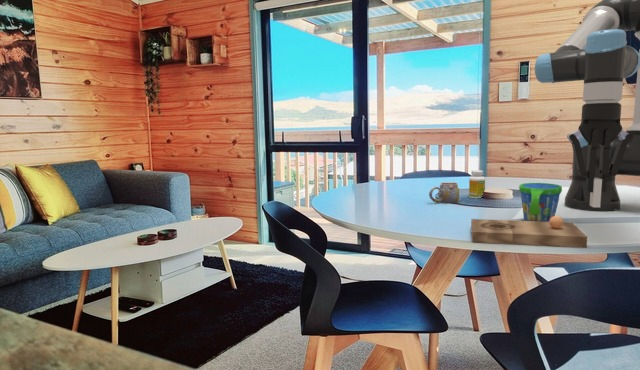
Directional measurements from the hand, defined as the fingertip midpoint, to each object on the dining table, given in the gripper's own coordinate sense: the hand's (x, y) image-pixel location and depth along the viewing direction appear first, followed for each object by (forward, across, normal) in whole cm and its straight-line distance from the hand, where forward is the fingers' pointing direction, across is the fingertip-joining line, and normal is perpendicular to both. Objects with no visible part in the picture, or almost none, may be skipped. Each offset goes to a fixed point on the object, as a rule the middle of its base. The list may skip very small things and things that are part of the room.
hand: (594, 206), depth 106 cm
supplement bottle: (+8, +24, -55) cm, 61 cm away
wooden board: (+8, +15, 0) cm, 17 cm away
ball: (+4, +8, 0) cm, 9 cm away
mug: (+8, +35, -44) cm, 57 cm away
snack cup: (+8, +9, -18) cm, 22 cm away
